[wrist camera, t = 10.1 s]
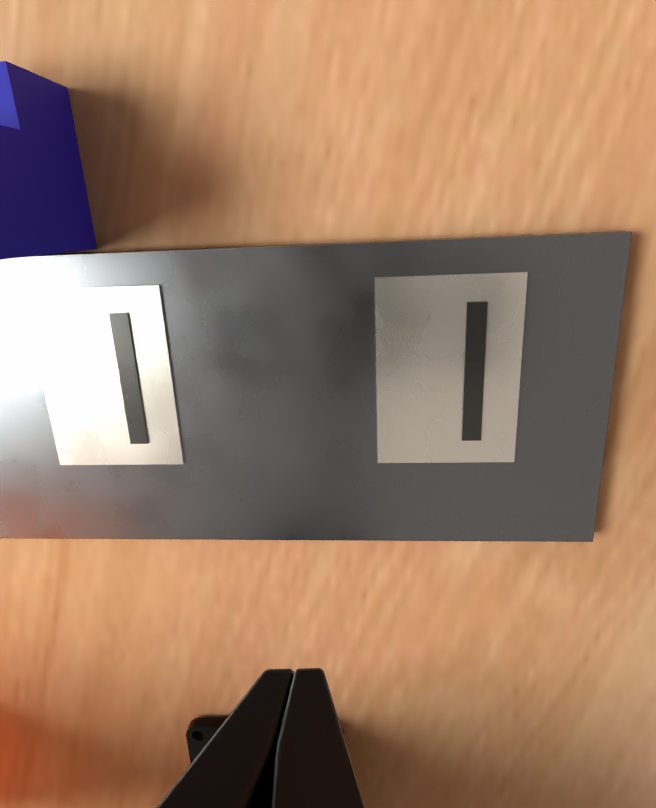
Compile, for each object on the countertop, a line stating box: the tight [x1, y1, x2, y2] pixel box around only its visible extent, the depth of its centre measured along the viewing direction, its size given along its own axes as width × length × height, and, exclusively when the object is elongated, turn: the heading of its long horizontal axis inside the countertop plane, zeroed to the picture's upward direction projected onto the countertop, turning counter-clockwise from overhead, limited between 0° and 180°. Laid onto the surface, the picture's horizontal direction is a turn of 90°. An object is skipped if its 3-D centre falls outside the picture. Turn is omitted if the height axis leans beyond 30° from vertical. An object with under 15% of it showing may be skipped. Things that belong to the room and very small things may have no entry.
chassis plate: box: [0, 231, 632, 542], centre depth 18 cm, size 10×22×1 cm, turn 92°
